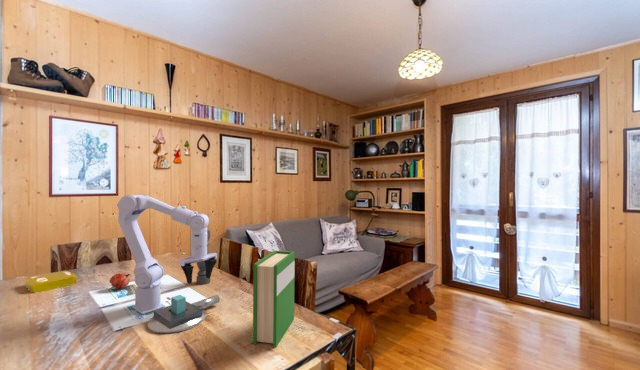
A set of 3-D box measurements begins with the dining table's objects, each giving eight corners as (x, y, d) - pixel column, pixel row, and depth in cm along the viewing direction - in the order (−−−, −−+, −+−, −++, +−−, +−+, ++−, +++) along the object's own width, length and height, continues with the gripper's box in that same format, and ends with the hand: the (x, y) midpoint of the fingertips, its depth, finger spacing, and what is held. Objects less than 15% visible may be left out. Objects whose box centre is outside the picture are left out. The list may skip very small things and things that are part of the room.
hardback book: (276, 347, 81) (276, 265, 81) (252, 344, 83) (253, 264, 83) (294, 319, 99) (294, 251, 99) (274, 317, 100) (275, 250, 100)
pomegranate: (108, 298, 121) (129, 283, 123) (98, 284, 121) (119, 269, 123) (118, 293, 128) (138, 279, 130) (109, 280, 129) (128, 266, 130)
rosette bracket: (138, 322, 95) (138, 310, 95) (204, 299, 115) (205, 289, 115) (162, 340, 85) (162, 327, 85) (231, 311, 104) (231, 300, 104)
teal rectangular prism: (171, 317, 97) (171, 297, 97) (179, 314, 99) (179, 294, 99) (176, 320, 95) (176, 300, 95) (185, 317, 97) (185, 297, 97)
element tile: (78, 284, 132) (78, 274, 132) (33, 294, 120) (33, 283, 120) (66, 278, 140) (66, 269, 140) (23, 287, 127) (24, 277, 127)
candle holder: (199, 280, 138) (199, 230, 138) (211, 280, 138) (212, 230, 138) (194, 284, 131) (195, 232, 132) (208, 284, 132) (208, 232, 132)
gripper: (186, 250, 99) (185, 288, 99) (221, 243, 111) (221, 277, 111) (176, 247, 104) (176, 283, 104) (211, 241, 115) (211, 274, 115)
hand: (199, 280), depth 108 cm, fingers open, 7 cm apart
